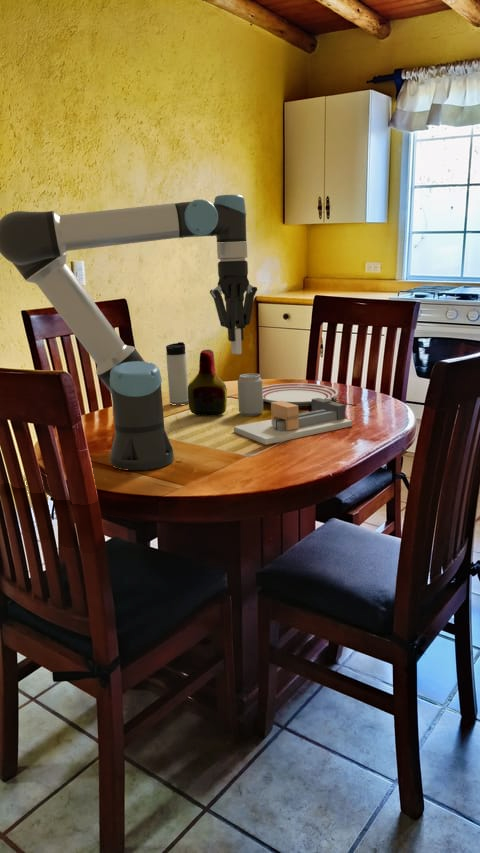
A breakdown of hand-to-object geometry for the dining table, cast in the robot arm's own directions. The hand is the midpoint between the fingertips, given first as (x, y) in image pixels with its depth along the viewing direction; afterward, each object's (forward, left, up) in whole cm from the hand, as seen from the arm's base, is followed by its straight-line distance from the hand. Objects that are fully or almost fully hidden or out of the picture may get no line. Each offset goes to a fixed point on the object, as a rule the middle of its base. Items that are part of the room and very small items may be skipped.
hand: (236, 353), depth 173 cm
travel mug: (+5, +47, -23) cm, 52 cm away
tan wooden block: (+11, -5, -21) cm, 24 cm away
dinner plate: (+37, +26, -23) cm, 51 cm away
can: (+16, +20, -23) cm, 34 cm away
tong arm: (+16, -5, -21) cm, 27 cm away
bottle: (+5, +27, -23) cm, 36 cm away
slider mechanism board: (+15, -3, -22) cm, 27 cm away
